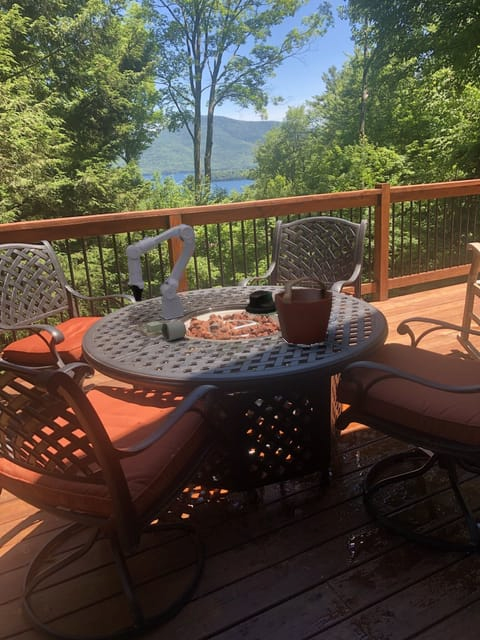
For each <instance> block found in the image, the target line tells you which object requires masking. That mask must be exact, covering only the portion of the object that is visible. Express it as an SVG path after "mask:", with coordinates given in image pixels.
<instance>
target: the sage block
mask: <svg viewBox="0 0 480 640" xmlns="http://www.w3.org/2000/svg"><path fill="white" fill-rule="evenodd" d="M145 324H146V332H147V333H153V332H158V331H162V324H163V323H161V322H159V321H152V322H148V323H147V322H146V323H145Z"/></svg>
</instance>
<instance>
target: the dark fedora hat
mask: <svg viewBox="0 0 480 640" xmlns="http://www.w3.org/2000/svg"><path fill="white" fill-rule="evenodd" d="M248 300H249V301H248V304H247V305H246V307H245V309H244V310H245V311H244V312H245V313H248V314H249V316H252V315H255V316H260V317H261V316H271V315H277V311H276V306H275V299H274V298H273V292H272V291H269V290H255V291H253V292H251V293H250V294H249V296H248Z"/></svg>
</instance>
